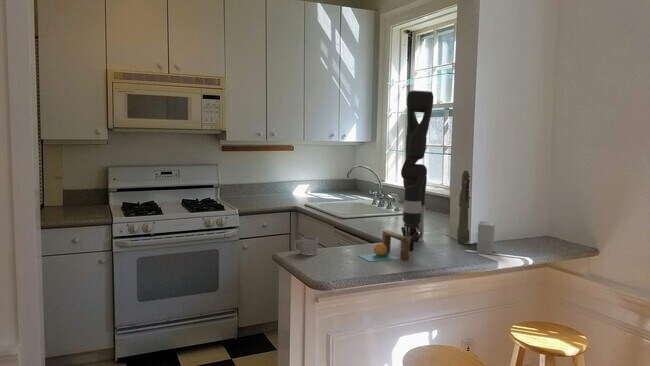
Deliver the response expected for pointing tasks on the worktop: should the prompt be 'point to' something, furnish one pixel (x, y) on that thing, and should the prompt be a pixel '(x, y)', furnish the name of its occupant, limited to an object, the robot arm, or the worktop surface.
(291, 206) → the worktop surface
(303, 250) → the mug
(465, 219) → the olive green statue
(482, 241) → the small box
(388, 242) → the bridge
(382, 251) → the ball
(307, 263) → the worktop surface
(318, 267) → the worktop surface
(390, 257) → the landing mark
